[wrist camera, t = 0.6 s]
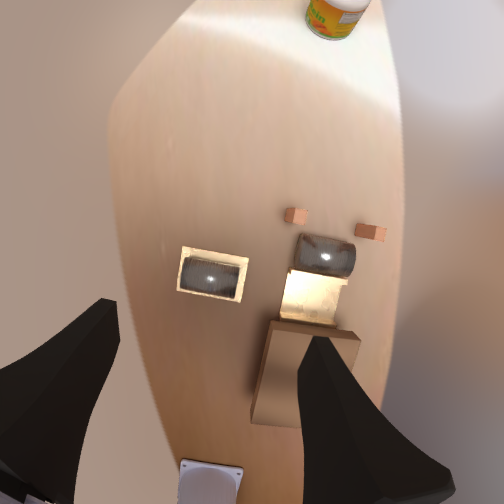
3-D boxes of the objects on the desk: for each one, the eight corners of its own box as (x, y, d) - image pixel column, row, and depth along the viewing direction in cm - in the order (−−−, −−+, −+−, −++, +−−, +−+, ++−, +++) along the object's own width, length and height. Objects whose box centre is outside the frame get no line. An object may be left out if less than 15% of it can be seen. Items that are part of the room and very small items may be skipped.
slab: (325, 416, 30) (330, 429, 28) (250, 409, 29) (250, 423, 27) (352, 331, 29) (361, 340, 26) (270, 320, 28) (273, 329, 26)
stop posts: (363, 237, 31) (384, 242, 26) (284, 220, 30) (292, 222, 26) (365, 225, 31) (386, 228, 26) (287, 208, 30) (295, 208, 25)
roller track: (306, 407, 33) (311, 423, 30) (165, 385, 32) (159, 401, 29) (350, 242, 31) (361, 246, 28) (188, 211, 30) (182, 211, 27)
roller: (240, 264, 31) (239, 269, 28) (234, 294, 31) (233, 302, 28) (188, 254, 30) (183, 259, 27) (184, 284, 31) (178, 292, 28)
